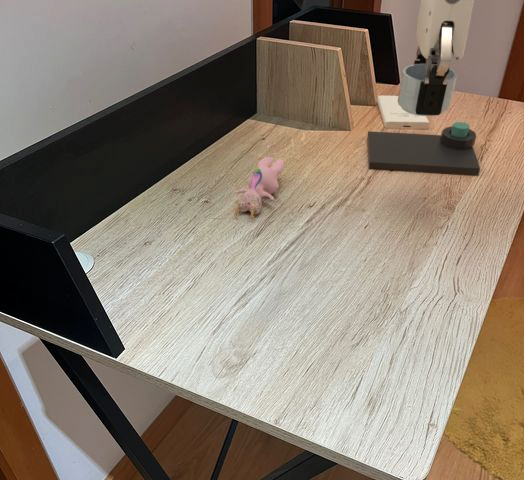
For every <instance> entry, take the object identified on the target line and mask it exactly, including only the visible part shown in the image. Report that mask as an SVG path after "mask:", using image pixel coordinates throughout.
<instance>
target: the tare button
mask: <svg viewBox="0 0 524 480" xmlns="http://www.w3.org/2000/svg"><path fill="white" fill-rule="evenodd" d="M452 126H453V127H452ZM452 126H451V127H452V131H451V135H452V136H455V137H461V138H464V137H467V135H468V131H469V129H470V126H471V125H470V124H469V123H466V122H463V121H457V122H453V123H452Z"/></svg>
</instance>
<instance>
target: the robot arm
mask: <svg viewBox="0 0 524 480" xmlns="http://www.w3.org/2000/svg"><path fill="white" fill-rule="evenodd" d="M474 3H475V0H420V3H419V9H418V15H417V16H418V17H417V25H416V30H415V31H416V33H415V34H416V41H417V45H418V46H417V49H416V55H415V60H414V62H413V64H422V63H423V64H426V65H425V74H424V81H421V84H420V89H419V94H418V99H417V105H416V110H415V111H416V114H417V115H436V116H440V115H441V114H440V113H441V110H442V105H443V101H444V96H445V92H446V87H447V81H448V75H449V68H450V66H451V63H452V56H453V58H454V59H455V60H456V61H459V60H461V59H462V58H463V57H464V55H465V50H466V47H467V46H466V45H467V40H468V35H469V29H470V24H471V20H472V14H473V10H474ZM431 64H436V65H434V66H433V68H432V70H431Z"/></svg>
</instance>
